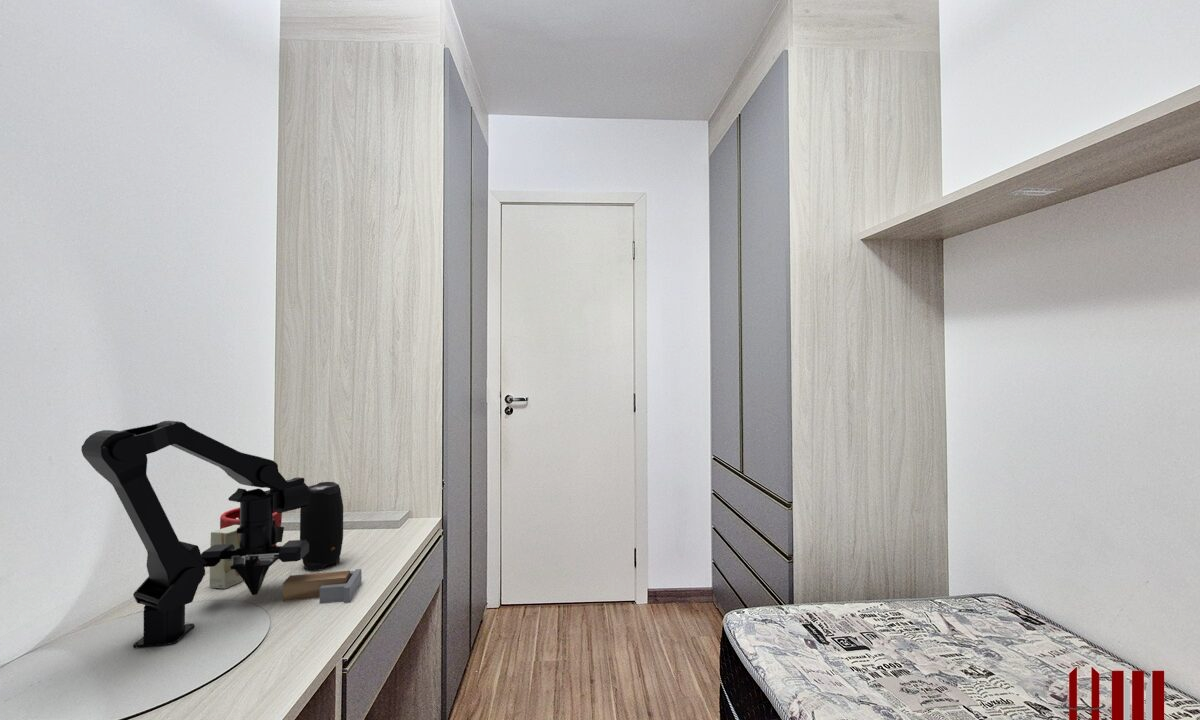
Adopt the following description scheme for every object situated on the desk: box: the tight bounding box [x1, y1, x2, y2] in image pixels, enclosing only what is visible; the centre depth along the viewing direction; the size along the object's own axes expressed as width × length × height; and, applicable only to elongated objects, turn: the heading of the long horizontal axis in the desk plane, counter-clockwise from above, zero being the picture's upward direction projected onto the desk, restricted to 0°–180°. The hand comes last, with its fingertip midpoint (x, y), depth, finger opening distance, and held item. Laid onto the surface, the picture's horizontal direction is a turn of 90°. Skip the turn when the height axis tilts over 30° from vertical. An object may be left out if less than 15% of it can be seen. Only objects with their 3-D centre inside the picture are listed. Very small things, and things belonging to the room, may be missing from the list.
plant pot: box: [219, 507, 283, 562], centre depth 133 cm, size 13×13×12 cm
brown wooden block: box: [282, 570, 351, 602], centre depth 112 cm, size 4×12×4 cm, turn 103°
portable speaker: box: [299, 481, 344, 572], centre depth 128 cm, size 9×9×20 cm
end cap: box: [319, 568, 363, 604], centre depth 112 cm, size 10×6×3 cm, turn 12°
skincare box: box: [209, 525, 244, 590], centre depth 118 cm, size 6×4×12 cm
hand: (255, 594), depth 108 cm, fingers closed
